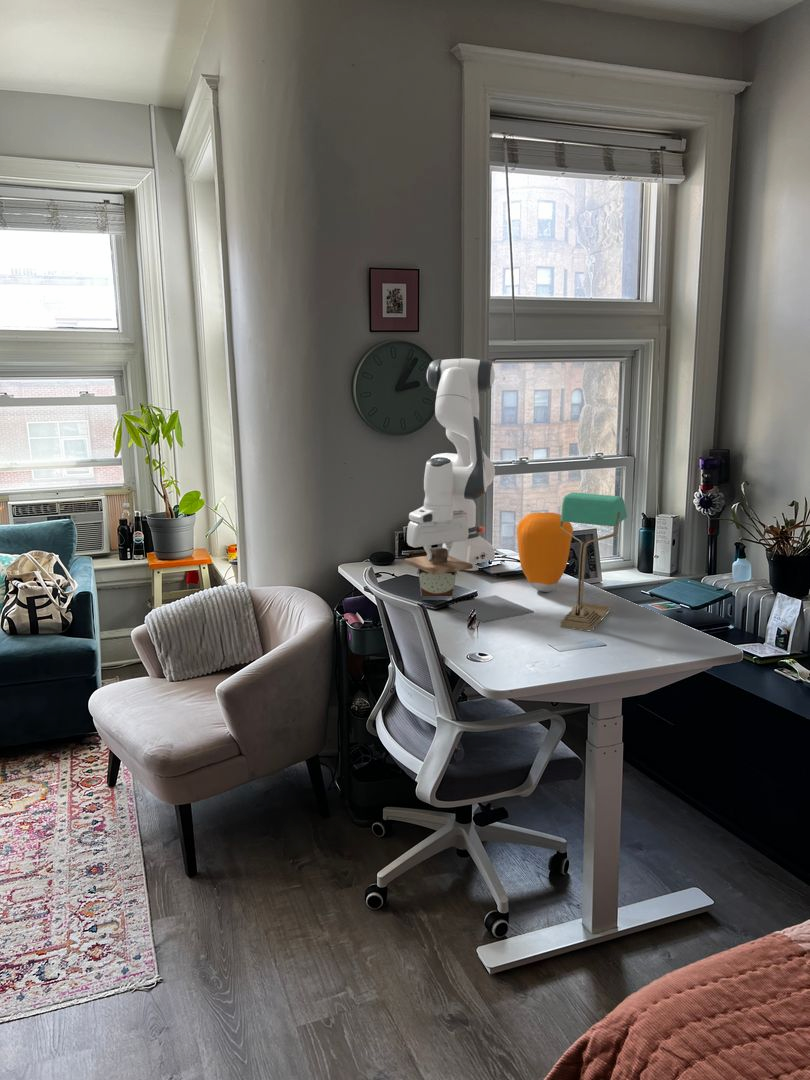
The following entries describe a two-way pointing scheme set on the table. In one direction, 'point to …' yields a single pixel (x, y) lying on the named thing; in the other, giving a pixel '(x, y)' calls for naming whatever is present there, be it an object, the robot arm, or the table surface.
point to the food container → (437, 583)
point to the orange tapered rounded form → (543, 548)
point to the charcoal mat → (490, 608)
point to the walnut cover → (438, 562)
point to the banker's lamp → (586, 512)
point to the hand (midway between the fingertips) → (438, 558)
